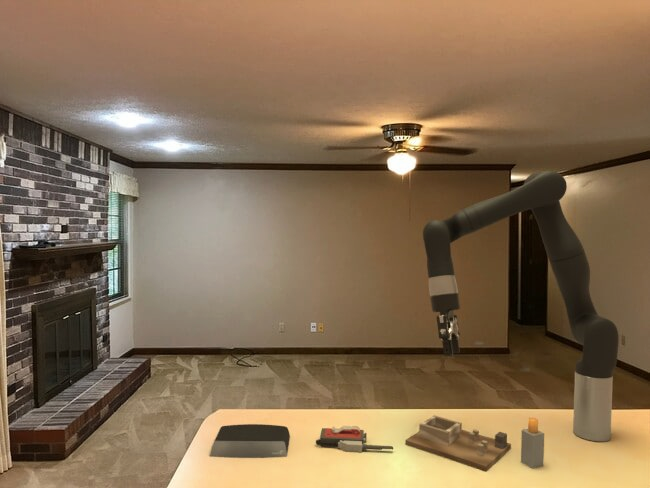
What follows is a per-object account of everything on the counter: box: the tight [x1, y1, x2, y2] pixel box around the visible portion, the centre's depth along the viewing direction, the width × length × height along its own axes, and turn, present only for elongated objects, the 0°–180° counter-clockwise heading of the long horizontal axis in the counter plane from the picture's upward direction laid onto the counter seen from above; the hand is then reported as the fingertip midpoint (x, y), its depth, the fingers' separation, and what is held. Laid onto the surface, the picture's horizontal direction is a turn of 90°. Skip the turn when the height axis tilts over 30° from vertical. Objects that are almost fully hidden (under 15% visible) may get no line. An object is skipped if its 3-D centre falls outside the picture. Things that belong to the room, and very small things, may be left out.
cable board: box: [404, 414, 512, 472], centre depth 133 cm, size 16×22×5 cm
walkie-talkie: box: [315, 425, 394, 453], centre depth 134 cm, size 9×4×20 cm
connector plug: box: [520, 417, 545, 469], centre depth 124 cm, size 4×4×11 cm
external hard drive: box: [209, 423, 291, 459], centre depth 133 cm, size 13×19×4 cm
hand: (452, 354), depth 135 cm, fingers open, 8 cm apart
